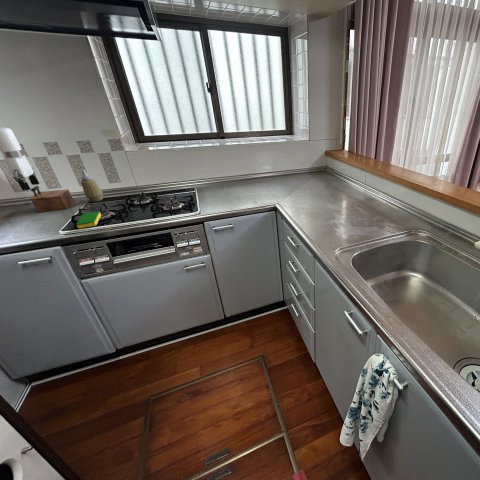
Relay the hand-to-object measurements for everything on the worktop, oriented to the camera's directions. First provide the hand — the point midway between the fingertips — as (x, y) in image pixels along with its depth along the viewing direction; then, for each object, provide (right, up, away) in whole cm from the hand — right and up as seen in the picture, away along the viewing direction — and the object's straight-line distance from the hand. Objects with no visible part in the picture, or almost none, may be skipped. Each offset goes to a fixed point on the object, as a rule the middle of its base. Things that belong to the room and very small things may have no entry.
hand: (31, 187), depth 142 cm
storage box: (+6, -10, +8) cm, 14 cm away
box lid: (+5, -4, +4) cm, 8 cm away
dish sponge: (+40, -19, -9) cm, 45 cm away
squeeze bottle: (+21, -5, +16) cm, 27 cm away
